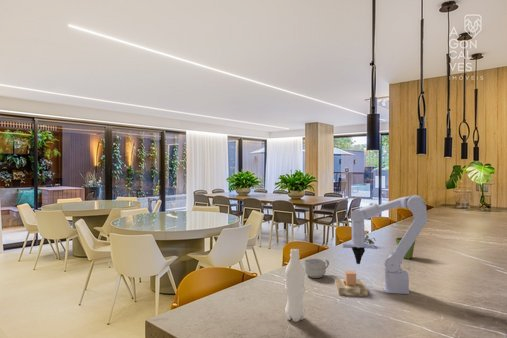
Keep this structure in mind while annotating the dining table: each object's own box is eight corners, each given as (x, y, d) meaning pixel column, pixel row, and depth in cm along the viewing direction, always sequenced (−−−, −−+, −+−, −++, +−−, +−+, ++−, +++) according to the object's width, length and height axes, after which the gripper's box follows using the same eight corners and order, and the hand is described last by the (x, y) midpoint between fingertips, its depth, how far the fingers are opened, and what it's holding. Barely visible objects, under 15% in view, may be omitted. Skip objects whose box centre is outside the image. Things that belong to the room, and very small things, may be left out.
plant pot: (411, 255, 200) (411, 237, 200) (419, 260, 188) (419, 241, 188) (392, 254, 201) (392, 236, 201) (398, 260, 190) (398, 241, 190)
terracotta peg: (354, 288, 144) (354, 270, 144) (356, 291, 140) (356, 273, 140) (345, 288, 144) (345, 270, 144) (346, 291, 140) (346, 273, 140)
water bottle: (302, 313, 119) (302, 247, 119) (306, 323, 112) (306, 252, 112) (283, 314, 119) (283, 247, 119) (286, 323, 112) (286, 252, 112)
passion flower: (360, 253, 224) (350, 238, 228) (369, 248, 230) (359, 234, 235) (371, 247, 216) (361, 232, 220) (380, 242, 222) (369, 227, 227)
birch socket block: (361, 285, 148) (361, 279, 148) (367, 296, 136) (367, 289, 136) (335, 284, 149) (335, 278, 149) (338, 294, 137) (338, 287, 137)
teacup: (309, 280, 155) (309, 264, 155) (300, 273, 165) (300, 258, 165) (335, 278, 159) (335, 262, 159) (325, 271, 169) (325, 256, 169)
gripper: (343, 236, 146) (343, 265, 146) (376, 236, 145) (376, 266, 145) (341, 233, 153) (341, 261, 153) (372, 233, 152) (372, 262, 152)
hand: (358, 263), depth 150 cm, fingers closed
